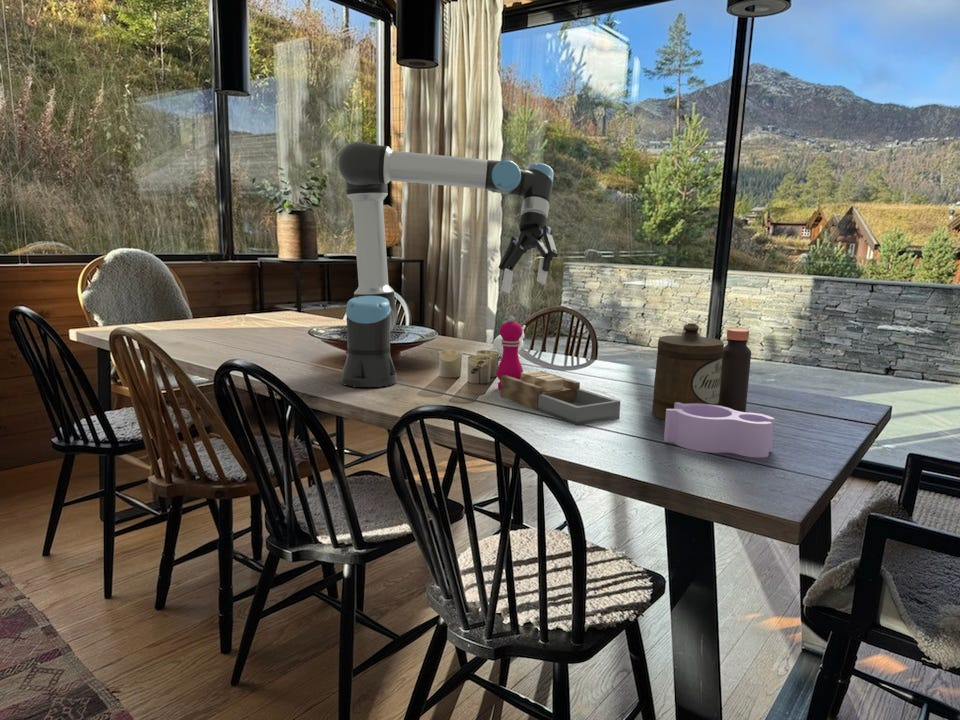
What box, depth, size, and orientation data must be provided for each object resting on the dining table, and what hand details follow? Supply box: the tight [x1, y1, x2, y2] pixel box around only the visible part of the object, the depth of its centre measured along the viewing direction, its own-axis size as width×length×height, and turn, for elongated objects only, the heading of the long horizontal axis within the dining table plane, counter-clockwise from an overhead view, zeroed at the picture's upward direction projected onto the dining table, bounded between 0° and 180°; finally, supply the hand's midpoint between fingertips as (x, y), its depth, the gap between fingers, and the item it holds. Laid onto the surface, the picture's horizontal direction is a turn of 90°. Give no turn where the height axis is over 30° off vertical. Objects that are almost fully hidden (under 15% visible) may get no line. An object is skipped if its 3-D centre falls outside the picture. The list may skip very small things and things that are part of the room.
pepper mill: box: [496, 315, 524, 391], centre depth 181 cm, size 7×7×20 cm
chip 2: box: [535, 375, 564, 391], centre depth 167 cm, size 5×5×2 cm
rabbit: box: [489, 324, 526, 359], centre depth 228 cm, size 12×9×12 cm
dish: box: [537, 388, 621, 426], centre depth 159 cm, size 14×13×4 cm
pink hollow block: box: [663, 402, 775, 458], centre depth 137 cm, size 20×12×7 cm, turn 59°
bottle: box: [718, 328, 752, 412], centre depth 163 cm, size 7×7×20 cm
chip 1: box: [521, 370, 549, 385], centre depth 172 cm, size 5×5×2 cm
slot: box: [500, 370, 581, 411], centre depth 171 cm, size 16×13×6 cm
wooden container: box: [651, 322, 725, 421], centre depth 158 cm, size 15×15×22 cm
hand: (522, 287), depth 182 cm, fingers open, 13 cm apart
